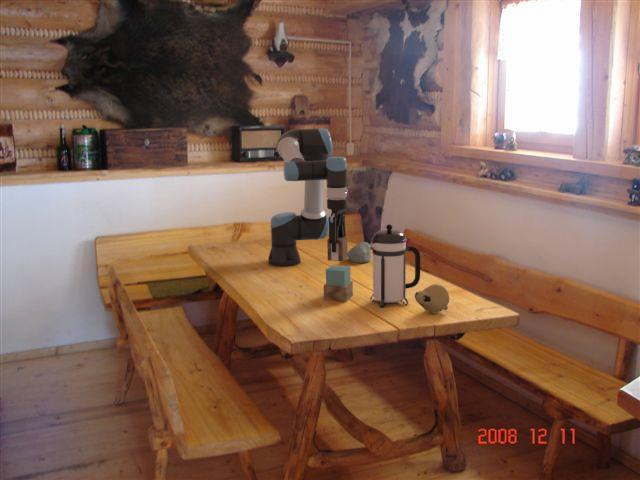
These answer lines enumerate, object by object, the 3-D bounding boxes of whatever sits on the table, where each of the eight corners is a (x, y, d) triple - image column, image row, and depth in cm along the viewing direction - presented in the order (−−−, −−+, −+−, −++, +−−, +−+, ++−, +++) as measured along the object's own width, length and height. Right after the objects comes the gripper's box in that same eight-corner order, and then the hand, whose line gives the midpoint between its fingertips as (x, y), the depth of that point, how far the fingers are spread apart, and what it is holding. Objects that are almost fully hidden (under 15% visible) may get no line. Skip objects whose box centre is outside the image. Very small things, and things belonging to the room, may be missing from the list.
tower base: (323, 300, 265) (323, 285, 263) (330, 294, 273) (330, 279, 272) (346, 302, 262) (346, 287, 261) (352, 296, 270) (352, 281, 269)
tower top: (325, 285, 264) (325, 269, 263) (332, 280, 271) (332, 265, 270) (344, 286, 262) (344, 271, 260) (350, 281, 269) (350, 266, 267)
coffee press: (401, 311, 250) (401, 229, 243) (362, 304, 258) (361, 226, 252) (420, 298, 264) (421, 221, 258) (383, 293, 272) (383, 218, 266)
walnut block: (327, 260, 262) (327, 239, 260) (332, 256, 268) (332, 236, 266) (342, 261, 260) (342, 240, 258) (347, 257, 266) (347, 237, 264)
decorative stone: (377, 263, 320) (376, 243, 324) (358, 257, 315) (358, 238, 319) (360, 271, 330) (360, 252, 334) (342, 266, 324) (342, 247, 329)
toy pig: (410, 311, 249) (410, 283, 247) (438, 306, 254) (438, 278, 252) (425, 319, 240) (425, 290, 238) (454, 314, 245) (454, 285, 243)
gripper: (338, 202, 249) (339, 264, 254) (353, 195, 266) (354, 253, 271) (318, 201, 251) (320, 263, 256) (335, 194, 269) (336, 252, 274)
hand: (337, 258), depth 264 cm, fingers closed on walnut block, 6 cm apart
